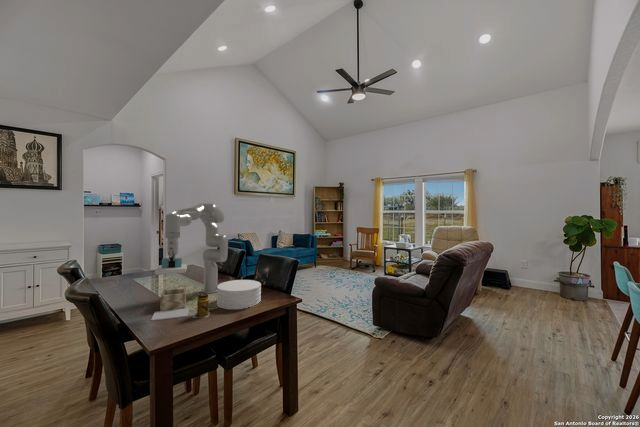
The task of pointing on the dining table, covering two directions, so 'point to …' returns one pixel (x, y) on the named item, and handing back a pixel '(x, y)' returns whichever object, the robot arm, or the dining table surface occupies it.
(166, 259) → the lid
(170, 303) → the crate
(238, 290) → the plate stack
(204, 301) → the condiment
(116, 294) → the dining table surface
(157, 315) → the mat
